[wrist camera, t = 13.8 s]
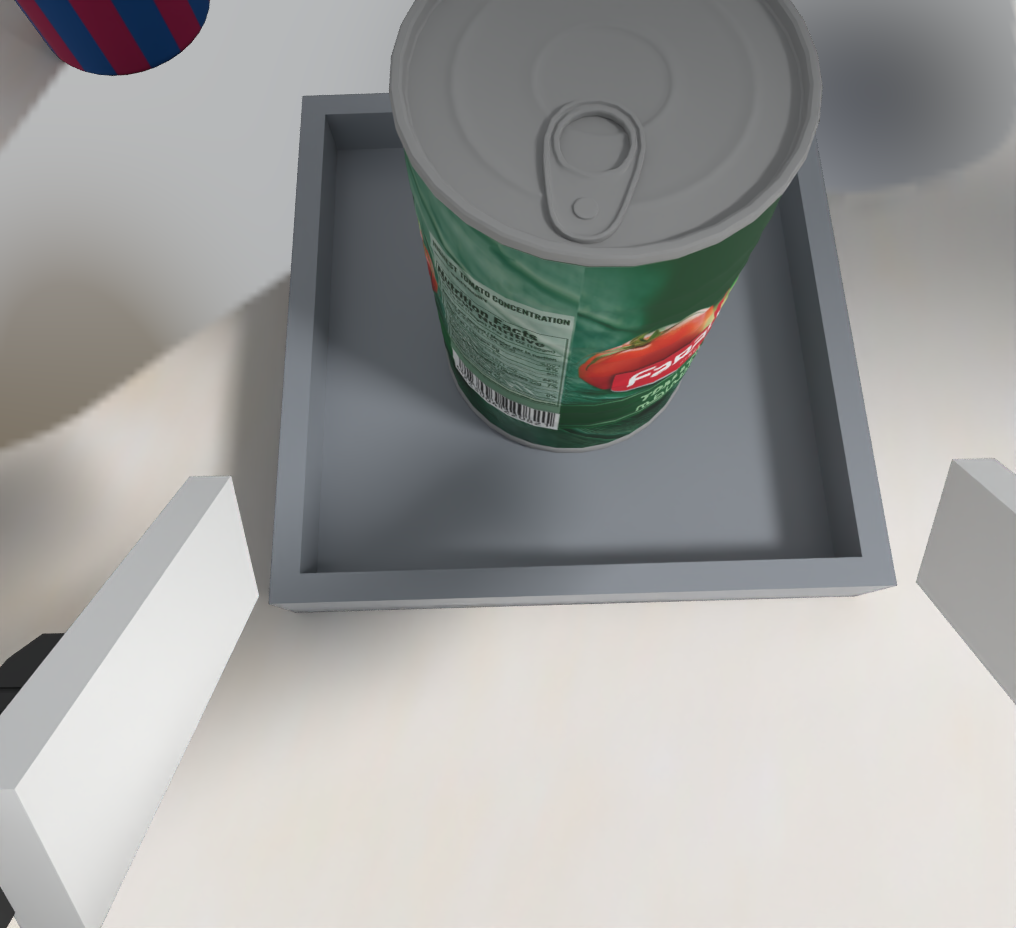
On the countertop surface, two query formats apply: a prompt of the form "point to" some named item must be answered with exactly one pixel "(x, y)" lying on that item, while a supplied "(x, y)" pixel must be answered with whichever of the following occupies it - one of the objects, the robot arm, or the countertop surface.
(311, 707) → the countertop surface
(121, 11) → the mug
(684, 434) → the tray
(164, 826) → the countertop surface
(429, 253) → the canned tomato
